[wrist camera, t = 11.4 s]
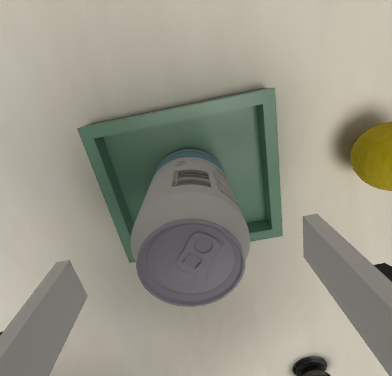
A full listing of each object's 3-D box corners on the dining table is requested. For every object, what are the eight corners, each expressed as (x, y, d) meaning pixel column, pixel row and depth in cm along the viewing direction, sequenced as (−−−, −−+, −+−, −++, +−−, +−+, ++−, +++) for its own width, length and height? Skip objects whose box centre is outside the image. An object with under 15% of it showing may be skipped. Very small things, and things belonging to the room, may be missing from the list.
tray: (134, 247, 27) (129, 262, 24) (89, 124, 21) (77, 128, 19) (274, 222, 26) (282, 235, 23) (265, 87, 20) (274, 87, 18)
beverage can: (142, 192, 23) (100, 286, 12) (177, 132, 21) (164, 181, 10) (200, 222, 25) (210, 330, 14) (238, 170, 23) (286, 248, 12)
